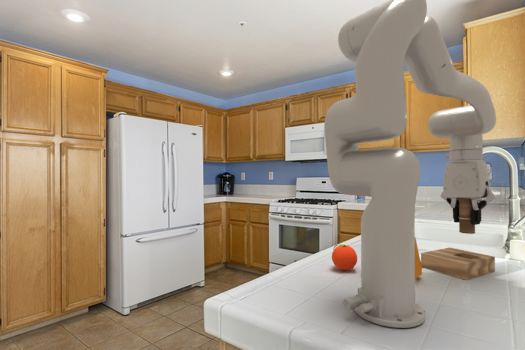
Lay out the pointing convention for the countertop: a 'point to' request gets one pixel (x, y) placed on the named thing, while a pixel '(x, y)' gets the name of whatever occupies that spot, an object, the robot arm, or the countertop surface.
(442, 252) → the board
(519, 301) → the countertop surface
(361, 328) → the countertop surface
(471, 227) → the peg
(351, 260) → the clementine
